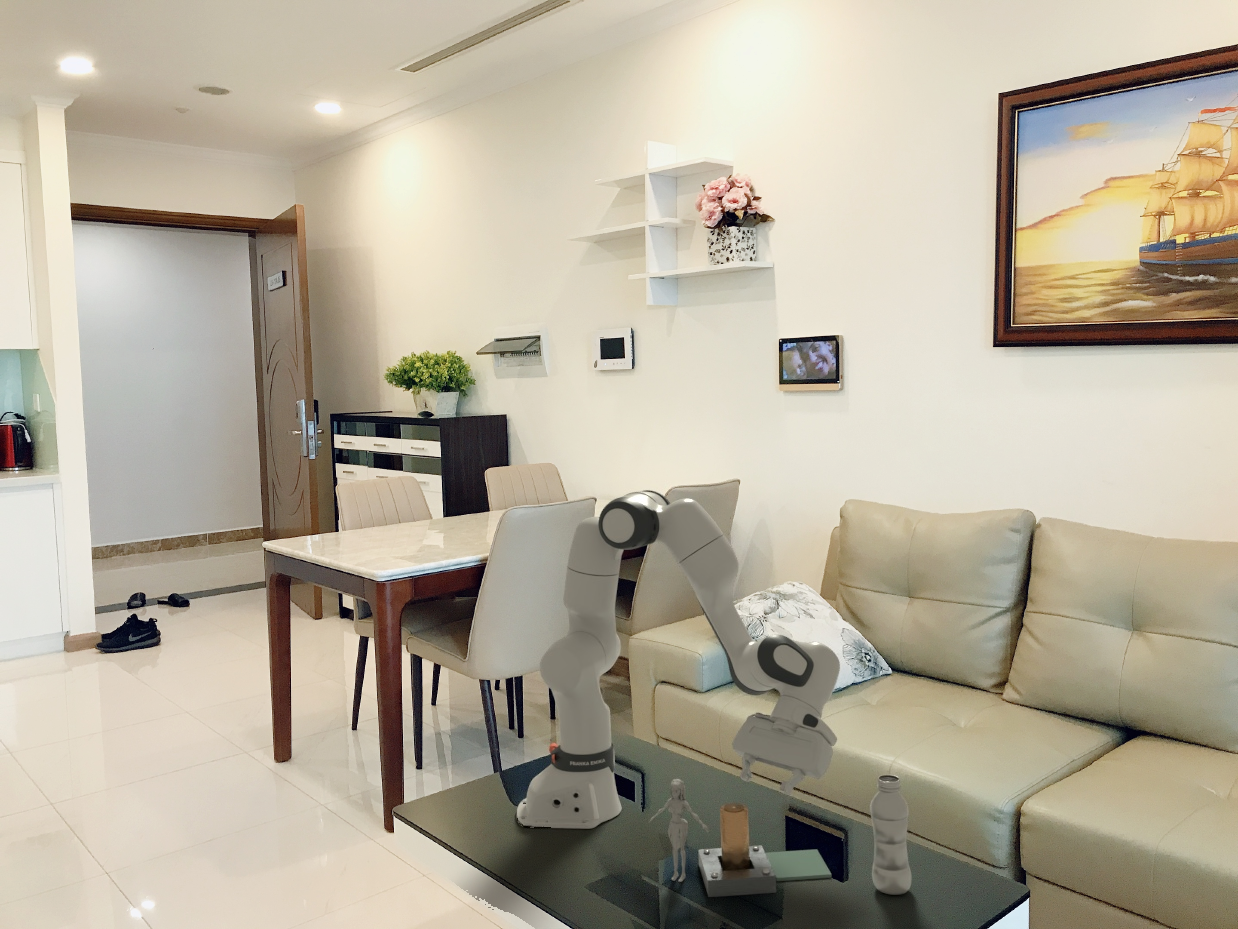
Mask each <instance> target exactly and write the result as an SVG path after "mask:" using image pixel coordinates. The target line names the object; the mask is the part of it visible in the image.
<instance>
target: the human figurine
mask: <svg viewBox="0 0 1238 929" xmlns="http://www.w3.org/2000/svg"><path fill="white" fill-rule="evenodd" d="M669 793H670V798H668V799H667V801H666V803H665V804H664V805H663V807H662V808H659V809H658V811H657V812H656V814H654V815H653V816H652V817H651V818H650V819H649V821H648V822H647V823H651V822H652V821H653V820H654V819H655V818H656V817H657V816H659V815H660V814H661V813H662V814H663V812H664V811H665V810H666V808H668V812H669V813H670V814H671V816H672V817H671V818H670V820H669V825H668V829H667V833H668V835H667V836H668V838H669V841H670V843H671V848H672V850H671V853H672V856H673V857H672V858H673V868H674V869H673V871H674V872H673V876H672V877H671V881H674V882H675V881H677V879H678V877H679V872H678V869H679V868H678V864H679V852H680V856H681V869H682V870H681V874H680V877H679V879H678V882H679V883H682V882H683V881H684V880H685V879H686V861H687V860H686V851H685V845H686V842H687V837H688V830H689V824H688V820H686V819H685V818H682V813H683V812H685V811H684V810H686V811H688V812H689V813H690V815H691V816H692V817H693V818H694V820H696V822H698V823H699V824H700V825H701V827H702V830H703V831H704V830H705V831H706V833H707V834H709V833H710V828H709V827H708V826H707V825H706V824H705V823H703V821H702V820H701V819H700V817H699V815H698V814H697V813H694V812H693V809H692V808H691V807H690V804H689V802H688V801H687V800H686V799H687V798H686V785H685V782H684V780H682V779H680V778H674V779H671V781H670V791H669ZM679 849H680V851H679Z"/></svg>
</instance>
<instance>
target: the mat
mask: <svg viewBox="0 0 1238 929" xmlns="http://www.w3.org/2000/svg"><path fill="white" fill-rule="evenodd" d="M765 854H766V856H767V858H768V860H769V862H770V865H771V867H772V869H773V871H774V873H775V876H776V882H783V881H797V880H798V881H799V880H800V881H801V880H813V879H814V880H815V879H817V880H818V879H829V878H830V879H832V873H831V871H830V869H829V868H828V866H827V864H826V862H825V861H824V859H823V857H822V855H821V854H820V852H819V850H818V848H817V849H803V850H802V849H800V850H786V851H785V850H784V851H771V852H765Z"/></svg>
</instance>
